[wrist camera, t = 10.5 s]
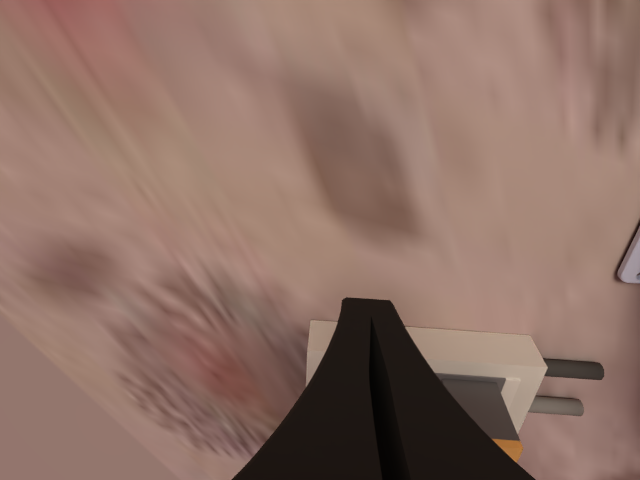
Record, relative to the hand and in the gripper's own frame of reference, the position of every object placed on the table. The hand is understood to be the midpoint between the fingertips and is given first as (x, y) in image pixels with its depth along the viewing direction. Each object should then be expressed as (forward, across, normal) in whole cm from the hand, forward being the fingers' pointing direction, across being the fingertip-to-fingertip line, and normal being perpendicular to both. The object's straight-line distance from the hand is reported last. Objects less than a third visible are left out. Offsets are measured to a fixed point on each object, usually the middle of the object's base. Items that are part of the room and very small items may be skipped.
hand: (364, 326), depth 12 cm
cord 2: (+10, -13, +14) cm, 21 cm away
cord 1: (+10, -13, +10) cm, 19 cm away
